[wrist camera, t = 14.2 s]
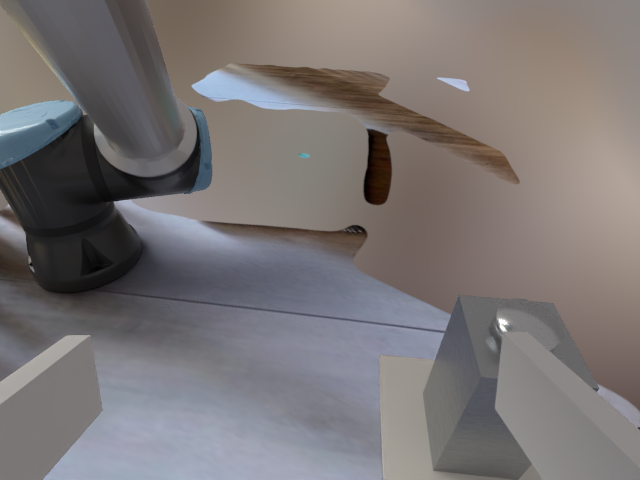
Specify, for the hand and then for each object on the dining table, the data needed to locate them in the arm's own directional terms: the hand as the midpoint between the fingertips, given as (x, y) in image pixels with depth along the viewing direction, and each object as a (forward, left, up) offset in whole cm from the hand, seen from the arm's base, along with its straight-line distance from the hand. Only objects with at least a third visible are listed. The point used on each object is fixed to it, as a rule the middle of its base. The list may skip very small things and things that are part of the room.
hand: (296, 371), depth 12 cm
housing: (-11, +14, -24) cm, 30 cm away
